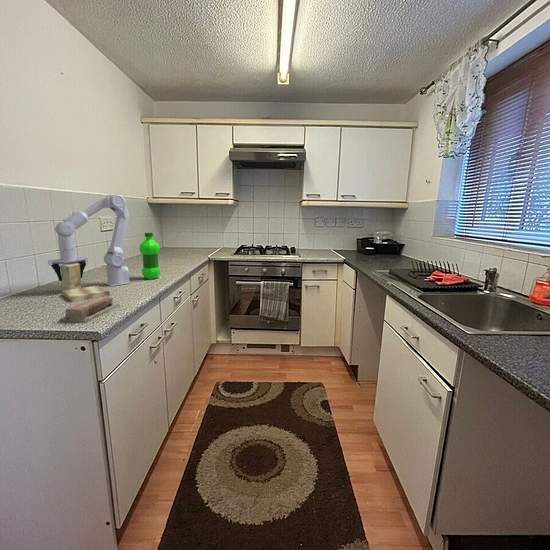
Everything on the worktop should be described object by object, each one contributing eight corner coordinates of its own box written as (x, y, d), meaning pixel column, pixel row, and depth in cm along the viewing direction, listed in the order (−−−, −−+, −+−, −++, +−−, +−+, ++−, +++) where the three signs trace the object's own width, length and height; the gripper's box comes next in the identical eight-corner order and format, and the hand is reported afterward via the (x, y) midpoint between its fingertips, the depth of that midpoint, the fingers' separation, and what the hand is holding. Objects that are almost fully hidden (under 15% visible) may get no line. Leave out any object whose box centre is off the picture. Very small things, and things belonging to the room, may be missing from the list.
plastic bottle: (149, 281, 157) (146, 233, 152) (137, 278, 162) (134, 232, 157) (165, 277, 165) (163, 233, 160) (153, 275, 170) (150, 232, 165)
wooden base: (98, 289, 138) (98, 285, 137) (109, 295, 129) (109, 290, 128) (62, 295, 127) (62, 290, 127) (72, 301, 118) (71, 297, 118)
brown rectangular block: (86, 309, 96) (57, 308, 97) (88, 323, 97) (59, 322, 98) (119, 295, 114) (95, 294, 114) (120, 307, 115) (96, 306, 115)
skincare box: (70, 292, 132) (68, 266, 128) (61, 290, 132) (59, 264, 128) (82, 288, 138) (80, 263, 134) (74, 286, 138) (72, 261, 135)
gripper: (82, 247, 139) (86, 275, 142) (44, 249, 129) (49, 280, 131) (87, 248, 135) (90, 277, 137) (48, 251, 124) (53, 282, 127)
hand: (70, 279), depth 134 cm, fingers closed on skincare box, 7 cm apart
